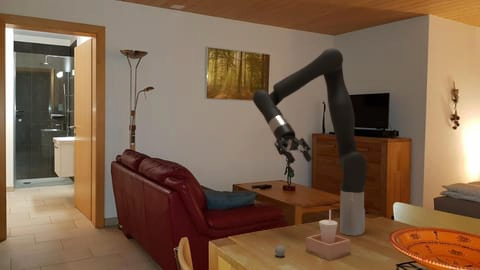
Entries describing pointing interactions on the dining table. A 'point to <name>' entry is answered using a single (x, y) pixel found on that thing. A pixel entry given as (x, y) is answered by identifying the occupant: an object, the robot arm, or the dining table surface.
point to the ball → (279, 250)
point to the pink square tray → (328, 247)
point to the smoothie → (328, 230)
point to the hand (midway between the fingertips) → (301, 161)
